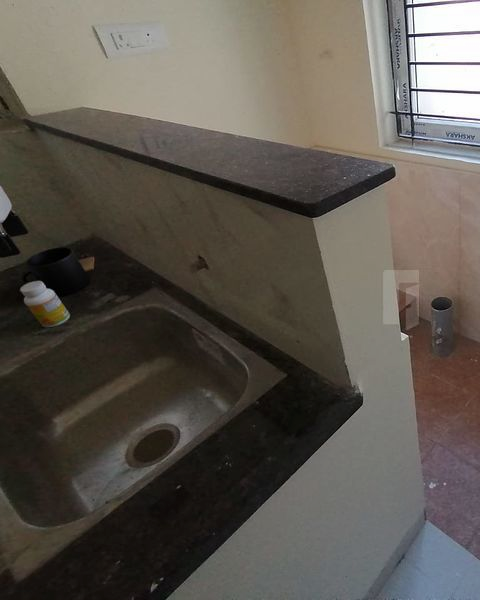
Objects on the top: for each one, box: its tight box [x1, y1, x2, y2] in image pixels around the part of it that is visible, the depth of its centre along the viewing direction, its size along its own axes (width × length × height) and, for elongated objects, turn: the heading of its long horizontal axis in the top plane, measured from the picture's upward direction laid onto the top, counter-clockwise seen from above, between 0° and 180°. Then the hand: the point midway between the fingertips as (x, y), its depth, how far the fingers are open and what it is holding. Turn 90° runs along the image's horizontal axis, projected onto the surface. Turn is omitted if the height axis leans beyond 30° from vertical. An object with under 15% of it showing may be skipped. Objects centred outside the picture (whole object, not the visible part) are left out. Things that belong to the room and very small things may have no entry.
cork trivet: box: [78, 256, 95, 272], centre depth 107 cm, size 7×7×1 cm
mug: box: [21, 246, 91, 298], centre depth 96 cm, size 9×12×9 cm
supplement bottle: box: [19, 280, 71, 328], centre depth 86 cm, size 5×5×10 cm
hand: (15, 244), depth 77 cm, fingers open, 9 cm apart
